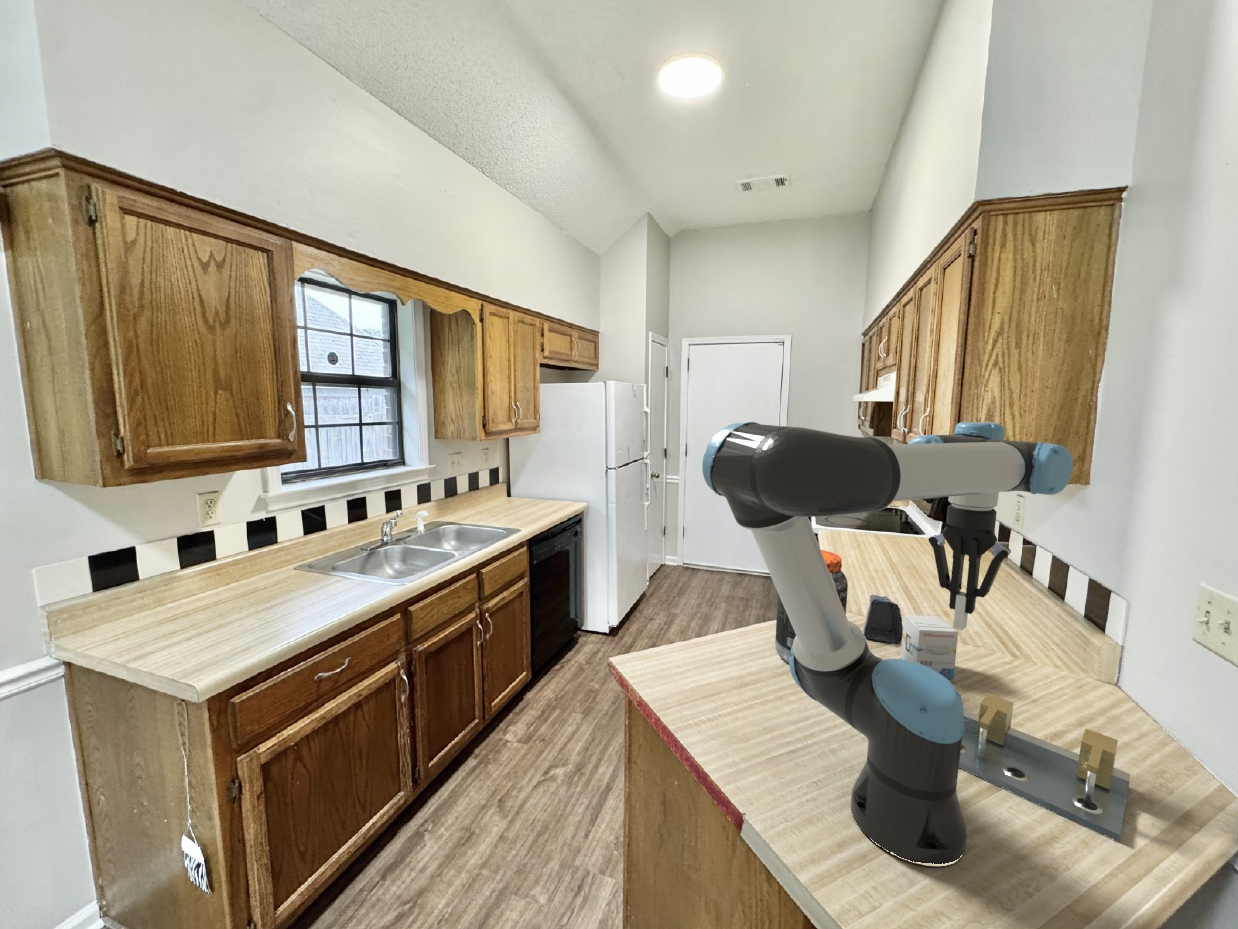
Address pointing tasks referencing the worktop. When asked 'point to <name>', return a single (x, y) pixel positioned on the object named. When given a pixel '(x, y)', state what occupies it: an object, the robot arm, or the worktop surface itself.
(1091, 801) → the grey peg fixture
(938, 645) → the ink box
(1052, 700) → the worktop surface
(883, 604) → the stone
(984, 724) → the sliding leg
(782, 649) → the supplement tub
